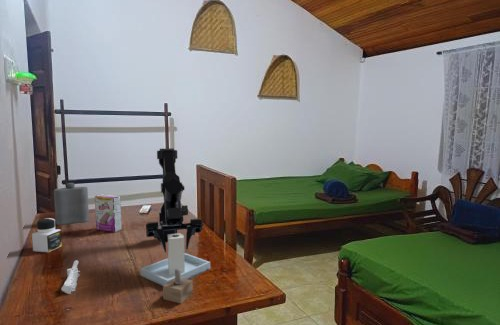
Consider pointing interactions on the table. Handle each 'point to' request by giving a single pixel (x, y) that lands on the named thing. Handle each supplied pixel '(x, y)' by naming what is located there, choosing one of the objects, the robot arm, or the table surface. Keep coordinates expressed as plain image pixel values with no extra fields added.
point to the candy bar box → (108, 212)
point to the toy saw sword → (71, 278)
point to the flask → (71, 205)
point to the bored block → (176, 253)
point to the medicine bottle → (46, 236)
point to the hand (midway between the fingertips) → (176, 250)
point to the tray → (161, 274)
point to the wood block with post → (178, 288)
